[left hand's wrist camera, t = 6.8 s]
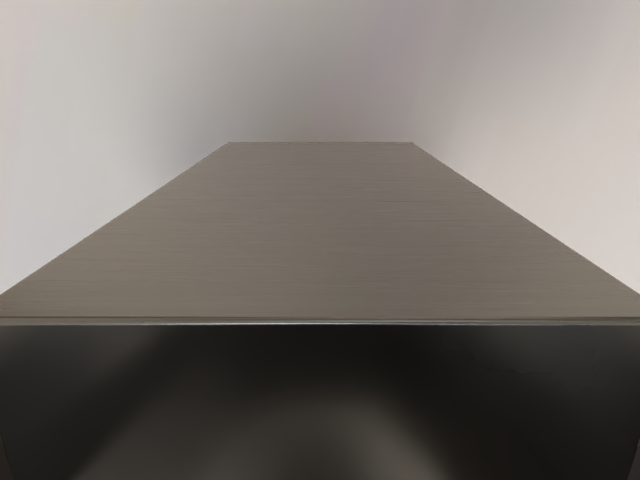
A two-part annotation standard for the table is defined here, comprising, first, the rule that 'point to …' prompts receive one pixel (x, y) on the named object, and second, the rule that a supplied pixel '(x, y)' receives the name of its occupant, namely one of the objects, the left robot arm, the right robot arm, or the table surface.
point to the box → (320, 333)
